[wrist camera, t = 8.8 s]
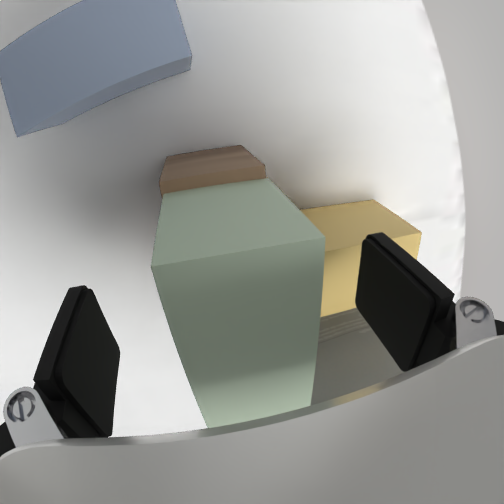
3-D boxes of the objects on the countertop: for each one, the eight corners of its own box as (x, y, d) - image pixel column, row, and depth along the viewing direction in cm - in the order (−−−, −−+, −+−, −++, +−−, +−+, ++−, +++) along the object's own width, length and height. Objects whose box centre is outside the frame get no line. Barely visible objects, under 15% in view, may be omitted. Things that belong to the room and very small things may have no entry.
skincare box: (259, 367, 23) (322, 554, 10) (251, 298, 20) (344, 550, 6) (355, 341, 24) (447, 495, 11) (366, 272, 21) (508, 451, 7)
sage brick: (163, 193, 10) (150, 267, 6) (268, 177, 11) (325, 237, 7) (196, 337, 14) (208, 429, 10) (275, 322, 14) (310, 407, 10)
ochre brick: (270, 270, 19) (296, 323, 15) (266, 214, 17) (296, 257, 13) (367, 250, 20) (409, 291, 16) (372, 199, 18) (421, 232, 14)
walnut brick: (166, 156, 14) (158, 182, 10) (240, 144, 15) (264, 165, 11) (189, 273, 18) (194, 331, 14) (252, 262, 18) (274, 315, 14)
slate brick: (63, 123, 12) (17, 137, 8) (44, 62, 10) (-6, 55, 6) (190, 70, 13) (192, 55, 8) (170, 6, 11) (165, -32, 6)
